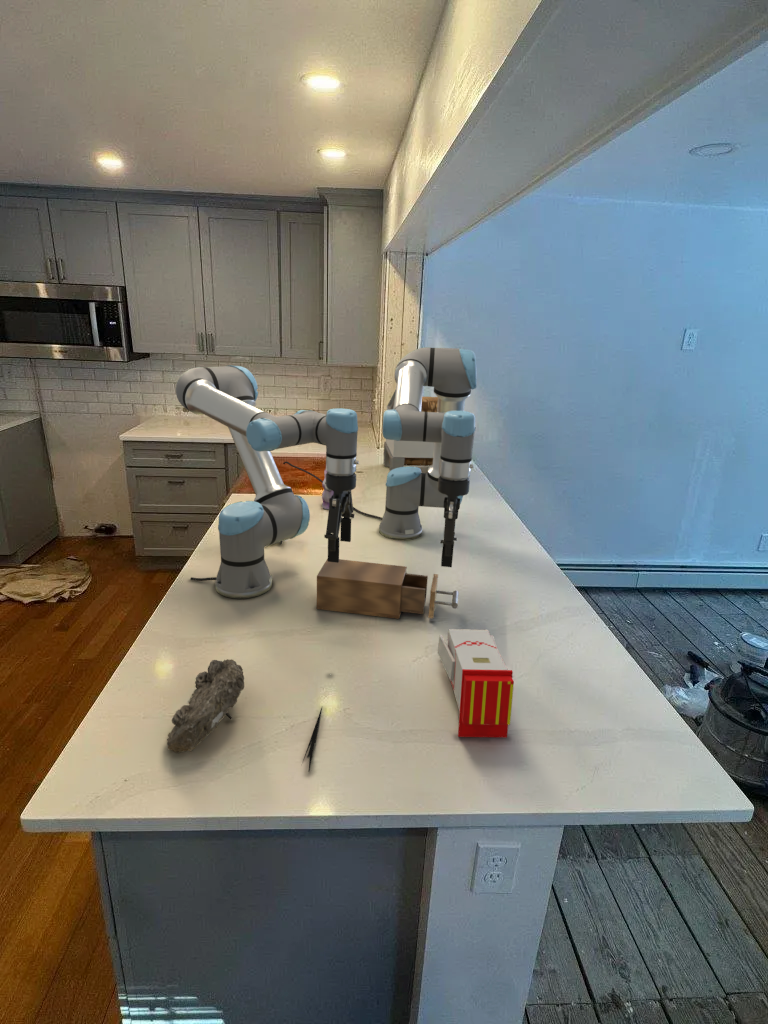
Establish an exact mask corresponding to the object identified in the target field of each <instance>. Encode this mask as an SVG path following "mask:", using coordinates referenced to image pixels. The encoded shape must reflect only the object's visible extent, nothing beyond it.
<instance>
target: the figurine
mask: <svg viewBox="0 0 768 1024" xmlns="http://www.w3.org/2000/svg"><path fill="white" fill-rule="evenodd" d="M326 473H327V471H326V468H325V469H324V472H323V474H324V475H323V476H324V479H323V480H322V481H323V483H322V482H321V484H322V485H321V486H322V488H323V491H322V493H321V499H322V503H321V507H322V509H325V510H329V499H330V498H331V497H332V495H333V493H334V491H332V490H330V489H328V488H327V487H326ZM334 508H335V507H334Z"/></svg>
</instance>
